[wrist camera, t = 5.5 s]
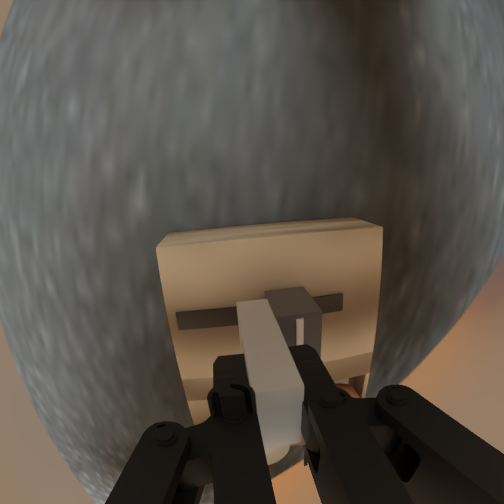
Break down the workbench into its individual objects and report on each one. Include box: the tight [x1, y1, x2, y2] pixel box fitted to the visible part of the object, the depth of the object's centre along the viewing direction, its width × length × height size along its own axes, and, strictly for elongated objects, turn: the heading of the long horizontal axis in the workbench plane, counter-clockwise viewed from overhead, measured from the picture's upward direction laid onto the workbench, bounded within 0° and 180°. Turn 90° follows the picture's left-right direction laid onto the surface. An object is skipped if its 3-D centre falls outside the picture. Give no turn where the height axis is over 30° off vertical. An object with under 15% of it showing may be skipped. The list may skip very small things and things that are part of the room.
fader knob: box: [264, 286, 322, 359], centre depth 14 cm, size 3×2×3 cm
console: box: [156, 217, 383, 447], centre depth 19 cm, size 16×12×4 cm
